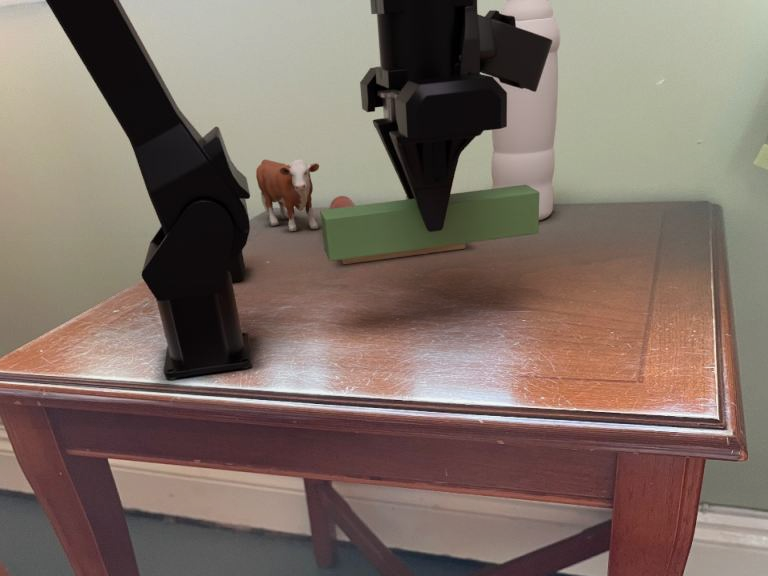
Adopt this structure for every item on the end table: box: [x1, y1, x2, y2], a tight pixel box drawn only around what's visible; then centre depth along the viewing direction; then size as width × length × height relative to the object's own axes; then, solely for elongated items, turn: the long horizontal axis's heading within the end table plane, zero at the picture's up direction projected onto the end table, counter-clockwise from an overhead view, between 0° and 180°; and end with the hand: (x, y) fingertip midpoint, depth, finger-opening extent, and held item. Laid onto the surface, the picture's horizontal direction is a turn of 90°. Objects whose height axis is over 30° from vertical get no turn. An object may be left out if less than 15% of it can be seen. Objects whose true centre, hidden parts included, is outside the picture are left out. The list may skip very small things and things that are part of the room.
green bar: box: [319, 185, 540, 262], centre depth 57 cm, size 3×16×3 cm, turn 100°
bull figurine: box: [255, 158, 320, 232], centre depth 91 cm, size 4×13×8 cm, turn 29°
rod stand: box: [329, 195, 466, 265], centre depth 84 cm, size 14×13×4 cm
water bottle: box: [490, 0, 561, 221], centre depth 82 cm, size 7×7×25 cm
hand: (429, 225), depth 57 cm, fingers closed on green bar, 3 cm apart
